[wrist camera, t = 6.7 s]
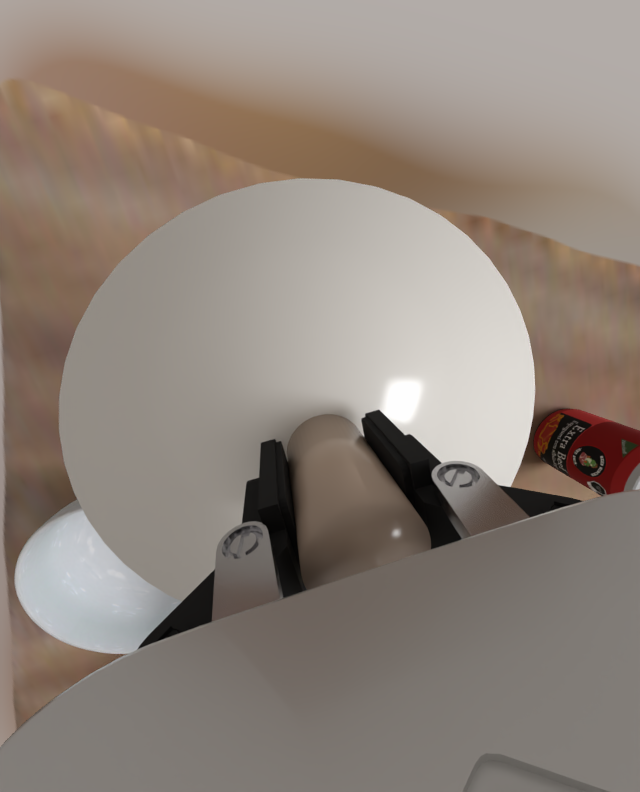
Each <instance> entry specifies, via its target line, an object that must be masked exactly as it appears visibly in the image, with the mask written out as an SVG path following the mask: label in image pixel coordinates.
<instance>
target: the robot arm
mask: <svg viewBox="0 0 640 792" xmlns="http://www.w3.org/2000/svg"><path fill="white" fill-rule="evenodd" d="M361 422H362V427H363V432H364V437H365V439H366V441H367V442H368V443H369V445H370V446H371V448H372V449H373V450H374V452H375V453H376V455H377V456H378V458H379V459H380V460H381V462H382V463H383V465H384V466H385V467H386V469H387V470H388V472H389V473H390V475H391V476H392V477H393V479H394V480H395V482H396V483H397V485H398V486H399V487H400V489H401V490H402V492H403V493H404V494H405V496H406V497H407V499H408V500H409V502H410V503H411V504H412V506H413V507H414V509H415V510H416V511H417V513H418V514H419V516H420V517H421V519H422V520H423V521H424V523H425V525H426V526H427V528H428V531H429V534H430V538H431V550H428V551H425V552H421V553H418V554H415V555H412V556H409V557H406V558H403V559H400V560H397V561H394V562H391V563H388V564H385V565H382V566H379V567H376V568H372V569H369V570H366V571H363V572H360V573H357V574H354V575H351V576H348V577H345V578H342V579H339V580H336V581H333V582H330V583H327V584H324V585H321V586H318V587H315V588H312V589H309V590H307V589H306V587H305V585H304V583H303V580H302V575H301V568H300V560H299V552H298V544H297V533H296V525H295V517H294V509H293V501H292V493H291V485H290V476H289V468H288V461H287V458H286V455H285V452H284V448H283V445H282V442H281V441H279V442H276V440H275V439H272V440H269V441H265V442H262V443H261V449H260V469H259V478H256V479H252V480H249V481H247V483H246V491H245V500H244V508H243V517H242V524H240V525H238V526H236V527H234V528H233V529H231V530H230V531H228V532H227V533H226V534H225V535H224V536H223V537H222V539H221V540H220V542H219V544H218V546H217V550H216V561H215V569H214V570H213V571H212V572H211V573H210V574H209V575H208V576H207V577H206V578H205V579H204V580H203V581H202V582H201V583H200V584H199V585H198V586H197V587H196V588H195V589H194V590H193V591H192V592H191V593H190V594H189V595H188V596H187V597H186V598H185V599H184V600H183V601H182V602H181V603H180V604H179V605H178V606H177V607H176V608H175V609H174V610H173V611H172V612H171V613H170V614H169V615H168V616H167V617H166V618H165V619H164V620H163V621H162V622H161V623H160V624H159V625H158V626H157V627H156V628H155V629H154V630H153V631H152V632H151V633H150V634H149V635H148V636H147V638H146V639H145V640H144V641H143V642H142V643H141V644H140V646H139V648H138V649H137V650H135V651H133V652H131V653H129V654H127V655H124V656H122V657H120V658H118V659H116V660H114V661H113V662H111V663H109V664H107V665H105V666H104V667H102V668H100V669H98V670H96V671H95V672H93V673H91V674H89V675H88V676H86V677H85V678H83V679H82V680H80V681H79V682H77V683H76V684H74V685H73V686H71V687H70V688H68V689H67V690H65V691H64V692H62V693H61V694H59V695H58V696H57V697H55V698H54V699H53V700H51V701H50V702H49V703H48V704H46V705H45V706H44V707H42V708H41V709H40V710H39V711H37V712H36V713H35V714H34V715H33V716H32V717H30V718H29V719H28V720H27V721H26V722H24V723H23V724H22V725H21V726H20V727H19V728H18V729H17V730H16V731H15V733H13V734H12V735H11V736H10V737H9V738H8V739H7V740H6V741H5V742H4V744H3V745H2V746H1V747H0V792H640V489H638V490H629V491H624V492H619V493H614V494H609V495H604V496H601V497H597V498H594V499H590V500H586V501H580V500H577V499H573V498H568V497H563V496H557V495H551V494H546V493H540V492H535V491H529V490H523V489H518V488H512V487H507V486H501V485H497V484H496V483H495V482H494V481H493V480H492V479H491V478H490V477H489V476H488V475H487V474H486V473H485V472H484V471H483V470H482V469H481V468H479V467H478V466H477V465H474V464H472V463H469V462H464V461H449V462H445V463H441V462H440V461H439V460H438V459H437V458H436V457H435V456H434V455H433V454H432V453H431V452H429V451H428V450H427V449H426V448H425V447H424V446H423V445H422V444H421V443H420V442H419V441H418V440H417V439H416V438H415V437H413V436H412V435H411V434H407V435H405V434H403V433H402V432H401V431H400V430H399V429H398V428H397V427H396V426H395V425H394V424H393V423H392V422H391V421H390V420H389V419H388V418H387V417H386V416H385V415H384V414H383V413H382V412H381V411H380V410H376V411H372V412H369V413H365V417H364V418H361Z"/></svg>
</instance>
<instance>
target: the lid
mask: <svg viewBox="0 0 640 792" xmlns="http://www.w3.org/2000/svg"><path fill="white" fill-rule="evenodd" d="M534 399H535V377H534V362H533V356H532V351H531V345H530V340H529V336H528V332H527V329H526V326H525V323H524V320H523V317H522V314H521V311H520V309H519V307H518V305H517V303H516V301H515V299H514V297H513V295H512V293H511V291H510V289H509V287H508V285H507V283H506V282H505V280H504V279H503V277H502V276H501V275H500V273H499V272H498V270H497V269H496V267H495V266H494V265H493V263H492V262H491V260H490V259H489V258H488V257H487V256H486V255H485V254H484V253H483V252H482V250H481V249H480V248H479V247H478V246H477V245H476V244H475V243H474V242H473V241H472V240H471V239H470V238H469V237H468V236H467V235H466V234H464V233H463V232H462V231H461V230H459V229H458V228H457V227H455V226H454V225H453V224H451V223H450V222H449V221H447V220H446V219H445V218H444V217H442V216H441V215H439V214H437V213H435V212H434V211H432V210H430V209H428V208H426V207H424V206H422V205H421V204H419V203H417V202H415V201H413V200H411V199H409V198H406V197H403V196H401V195H398V194H395V193H392V192H389V191H387V190H384V189H381V188H378V187H375V186H370V185H364V184H359V183H353V182H348V181H342V180H332V179H291V180H283V181H276V182H268V183H260V184H256V185H253V186H249V187H246V188H242V189H239V190H235V191H232V192H228V193H225V194H221V195H219V196H217V197H214V198H212V199H210V200H208V201H206V202H204V203H202V204H199V205H197V206H195V207H193V208H191V209H189V210H187V211H184V212H182V213H181V214H179V215H178V216H176V217H175V218H173V219H172V220H170V221H169V222H168V223H166V224H165V225H163V226H162V227H160V228H159V229H157V230H156V231H154V232H153V233H151V234H150V235H148V236H147V237H146V238H145V239H144V240H143V241H142V242H141V243H140V244H139V245H138V246H137V247H136V248H134V249H133V250H132V251H131V252H130V253H129V254H128V255H127V256H126V257H125V258H124V259H123V260H122V261H121V262H120V263H119V264H118V265H117V266H116V268H115V269H114V270H113V271H112V273H111V274H110V275H109V277H108V278H107V279H106V280H105V282H104V283H103V284H102V286H101V287H100V288H99V290H98V291H97V292H96V293H95V295H94V297H93V299H92V301H91V302H90V304H89V306H88V308H87V310H86V312H85V313H84V315H83V317H82V319H81V321H80V323H79V325H78V326H77V329H76V332H75V334H74V337H73V340H72V343H71V346H70V349H69V352H68V355H67V358H66V361H65V365H64V371H63V377H62V383H61V389H60V395H59V434H60V440H61V446H62V453H63V459H64V464H65V467H66V470H67V473H68V476H69V479H70V482H71V485H72V488H73V491H74V494H75V496H76V498H77V500H78V501H79V503H80V505H81V507H82V509H83V511H84V513H85V515H86V517H87V519H88V521H89V522H90V523H91V525H92V526H93V528H94V529H95V530H96V532H97V533H98V535H99V536H100V537H101V539H102V540H103V542H104V543H105V544H106V545H107V546H108V547H109V548H110V549H111V551H112V552H113V553H114V554H115V555H116V556H117V557H118V558H119V559H120V560H121V561H122V562H123V563H124V564H125V565H126V566H127V567H129V568H130V569H131V570H132V571H134V572H135V573H136V574H137V575H139V576H140V577H141V578H142V579H144V580H145V581H146V582H148V583H149V584H151V585H153V586H154V587H156V588H157V589H159V590H161V591H162V592H164V593H166V594H167V595H169V596H171V597H173V598H175V599H178V600H180V601H183V600H184V599H185V598H186V597H187V596H188V595H189V594H190V593H191V592H192V591H193V590H194V589H195V588H196V587H197V586H198V585H199V584H200V583H201V582H202V581H203V580H204V579H205V578H206V577H207V576H208V575H209V574H210V573H211V572H212V571H213V570H214V569H215V561H216V550H217V546H218V544H219V542H220V540H221V539H222V537H223V536H224V535H225V534H226V533H227V532H228V531H230V530H231V529H233V528H234V527H236V526H238V525H240V524H242V517H243V508H244V500H245V491H246V483H247V481H249V480H252V479H256V478H259V469H260V449H261V443H262V442H265V441H269V440H272V439H275V440H276V442H279V441H281V442H282V445H283V448H284V452H285V455H286V458H287V461H288V468H289V476H290V485H291V493H292V501H293V509H294V517H295V525H296V533H297V544H298V552H299V560H300V568H301V575H302V580H303V583H304V585H305V587H306V589H307V590H309V589H312V588H315V587H318V586H321V585H324V584H327V583H330V582H333V581H336V580H339V579H342V578H345V577H348V576H351V575H354V574H357V573H360V572H363V571H366V570H369V569H372V568H376V567H379V566H382V565H385V564H388V563H391V562H394V561H397V560H400V559H403V558H406V557H409V556H412V555H415V554H418V553H421V552H425V551H428V550H431V538H430V534H429V531H428V528H427V526H426V525H425V523H424V521H423V520H422V519H421V517H420V516H419V514H418V513H417V511H416V510H415V509H414V507H413V506H412V504H411V503H410V502H409V500H408V499H407V497H406V496H405V494H404V493H403V492H402V490H401V489H400V487H399V486H398V485H397V483H396V482H395V480H394V479H393V477H392V476H391V475H390V473H389V472H388V470H387V469H386V467H385V466H384V465H383V463H382V462H381V460H380V459H379V458H378V456H377V455H376V453H375V452H374V450H373V449H372V448H371V446H370V445H369V443H368V442H367V441H366V439H365V437H364V432H363V427H362V422H361V418H364V417H365V413H369V412H372V411H376V410H380V411H381V412H382V413H383V414H384V415H385V416H386V417H387V418H388V419H389V420H390V421H391V422H392V423H393V424H394V425H395V426H396V427H397V428H398V429H399V430H400V431H401V432H402V433H403V434H405V435H407V434H411V435H412V436H413V437H415V438H416V439H417V440H418V441H419V442H420V443H421V444H422V445H423V446H424V447H425V448H426V449H427V450H428V451H429V452H431V453H432V454H433V455H434V456H435V457H436V458H437V459H438V460H439V461H440V462H441V463H445V462H449V461H464V462H469V463H472V464H474V465H477V466H478V467H479V468H481V469H482V470H483V471H484V472H485V473H486V474H487V475H488V476H489V477H490V478H491V479H492V480H493V481H494V482H495V483H496V484H497V485H501V486H507V487H511V484H512V482H513V480H514V478H515V476H516V473H517V471H518V469H519V467H520V464H521V461H522V458H523V455H524V452H525V449H526V446H527V443H528V439H529V434H530V429H531V424H532V419H533V411H534Z"/></svg>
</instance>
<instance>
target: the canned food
mask: <svg viewBox="0 0 640 792" xmlns="http://www.w3.org/2000/svg"><path fill="white" fill-rule="evenodd" d="M534 449H535V452H536V453H537V455H538V456H539V457H540V458H541V459H542V460H543V461H544V462H545V463H547V464H549V465H550V466H552V467H554V468H555V469H557V470H559V471H560V472H562V473H564V474H565V475H567V476H569V477H571V478H572V479H574V480H576V481H577V482H579V483H581V484H582V485H584V486H586V487H587V488H589V489H591V490H592V491H594V492H596V493H597V494H599V495H601V496H604V495H609V494H614V493H619V492H624V491H629V490H638V489H640V431H639V430H636V429H633V428H630V427H627V426H624V425H622V424H619V423H616V422H613V421H610V420H607V419H604V418H602V417H599V416H596V415H593V414H590V413H587V412H584V411H581V410H577V409H562V410H559V411H556V412H554V413H552V414H551V415H549V416H548V417H547V418H546V419H545V420H544V421H543V422H542V423H541V424H540V425H539V427H538V429H537V431H536V433H535V436H534Z"/></svg>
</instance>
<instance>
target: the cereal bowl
mask: <svg viewBox="0 0 640 792" xmlns="http://www.w3.org/2000/svg"><path fill="white" fill-rule="evenodd" d="M14 580H15V589H16V593H17V596H18V599H19V601H20V603H21V605H22V607H23V608H24V610H25V612H26V613H27V614H28V616H29V617H30V618H31V619H32V620H33V621H34V622H35V623H36V624H37V625H38V626H39V627H40V628H42V629H43V630H44V631H45V632H47V633H48V634H50V635H51V636H53V637H55V638H56V639H58V640H60V641H62V642H65V643H67V644H69V645H72V646H75V647H78V648H81V649H86V650H90V651H95V652H102V653H112V654H129V653H131V652H133V651H135V650H137V649H138V648H139V646H140V644H141V643H142V642H143V641H144V640H145V639H146V638H147V636H148V635H149V634H150V633H151V632H152V631H153V630H154V629H155V628H156V627H157V626H158V625H159V624H160V623H161V622H162V621H163V620H164V619H165V618H166V617H167V616H168V615H169V614H170V613H171V612H172V611H173V610H174V609H175V608H176V607H177V606H178V605H179V604H180V603H181V602H182V601H180V600H178V599H175V598H173V597H171V596H169V595H167V594H166V593H164V592H162V591H161V590H159V589H157V588H156V587H154V586H153V585H151V584H149V583H148V582H146V581H145V580H144V579H142V578H141V577H140V576H139V575H137V574H136V573H135V572H134V571H132V570H131V569H130V568H129V567H127V566H126V565H125V564H124V563H123V562H122V561H121V560H120V559H119V558H118V557H117V556H116V555H115V554H114V553H113V552H112V551H111V549H110V548H109V547H108V546H107V545H106V544H105V543H104V542H103V540H102V539H101V537H100V536H99V535H98V533H97V532H96V530H95V529H94V528H93V526H92V525H91V523H90V522H89V521H88V519H87V517H86V515H85V513H84V511H83V509H82V507H81V505H80V503H79V501H78V500H75V501H74V502H72V503H70V504H68V505H67V506H66V507H64V508H62V509H61V510H60V511H59V512H57V513H56V514H55V515H53V516H52V517H51V518H50V519H49V520H48V521H46V522H45V523H44V524H43V525H42V526H41V527H39V528H38V529H37V530H36V531H35V533H34V534H33V535H32V536H31V537H30V538H29V539H28V541H27V542H26V544H25V545H24V547H23V549H22V551H21V553H20V555H19V557H18V560H17V564H16V568H15V576H14Z"/></svg>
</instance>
